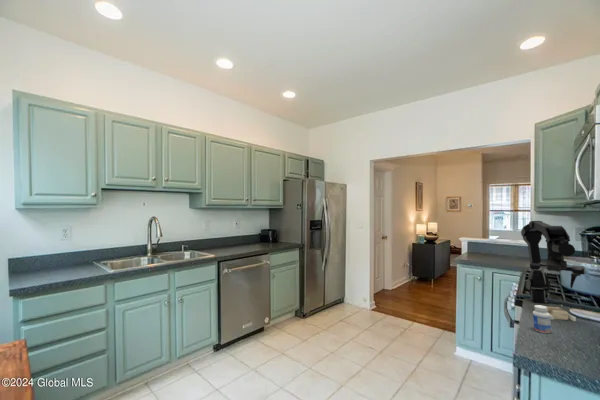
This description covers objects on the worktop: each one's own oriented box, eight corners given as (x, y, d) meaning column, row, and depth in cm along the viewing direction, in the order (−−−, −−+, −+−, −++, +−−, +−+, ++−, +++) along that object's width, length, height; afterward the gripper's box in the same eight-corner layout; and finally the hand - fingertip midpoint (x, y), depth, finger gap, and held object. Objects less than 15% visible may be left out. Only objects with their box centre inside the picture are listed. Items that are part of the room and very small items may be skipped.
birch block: (546, 314, 132) (545, 306, 133) (559, 314, 131) (558, 307, 131) (554, 319, 126) (553, 311, 126) (568, 320, 124) (567, 312, 124)
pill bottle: (534, 327, 117) (532, 303, 118) (551, 330, 114) (549, 305, 115) (534, 331, 113) (532, 307, 114) (552, 334, 110) (549, 309, 110)
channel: (537, 310, 136) (537, 307, 136) (560, 312, 134) (559, 308, 134) (551, 319, 125) (550, 316, 125) (576, 321, 122) (575, 317, 122)
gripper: (526, 253, 133) (528, 286, 132) (581, 257, 118) (584, 294, 118) (531, 250, 140) (533, 281, 139) (584, 253, 125) (586, 288, 125)
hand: (557, 286), depth 130 cm, fingers open, 9 cm apart
